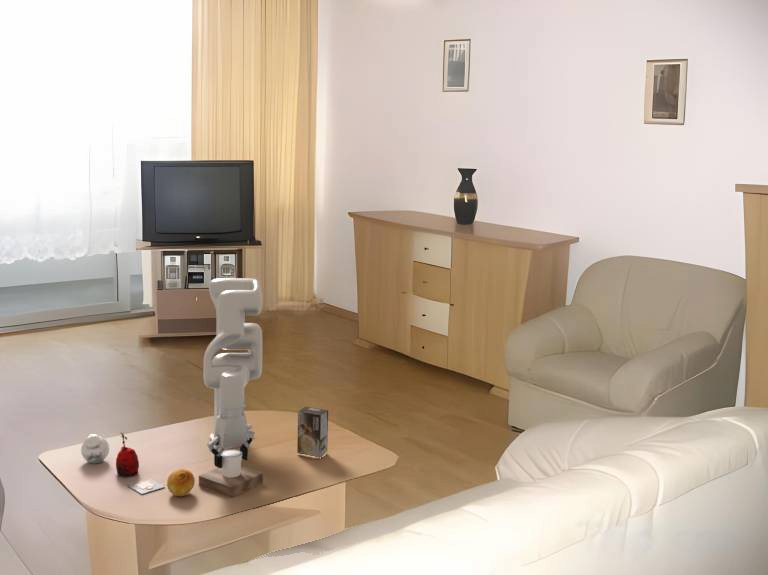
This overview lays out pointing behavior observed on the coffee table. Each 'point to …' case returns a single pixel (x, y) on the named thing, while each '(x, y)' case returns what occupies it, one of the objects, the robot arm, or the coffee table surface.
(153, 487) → the card
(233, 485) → the walnut block
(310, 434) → the coffee box
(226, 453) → the shot glass
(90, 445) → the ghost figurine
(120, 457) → the red clay folk toy
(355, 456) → the coffee table surface
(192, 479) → the fruit
